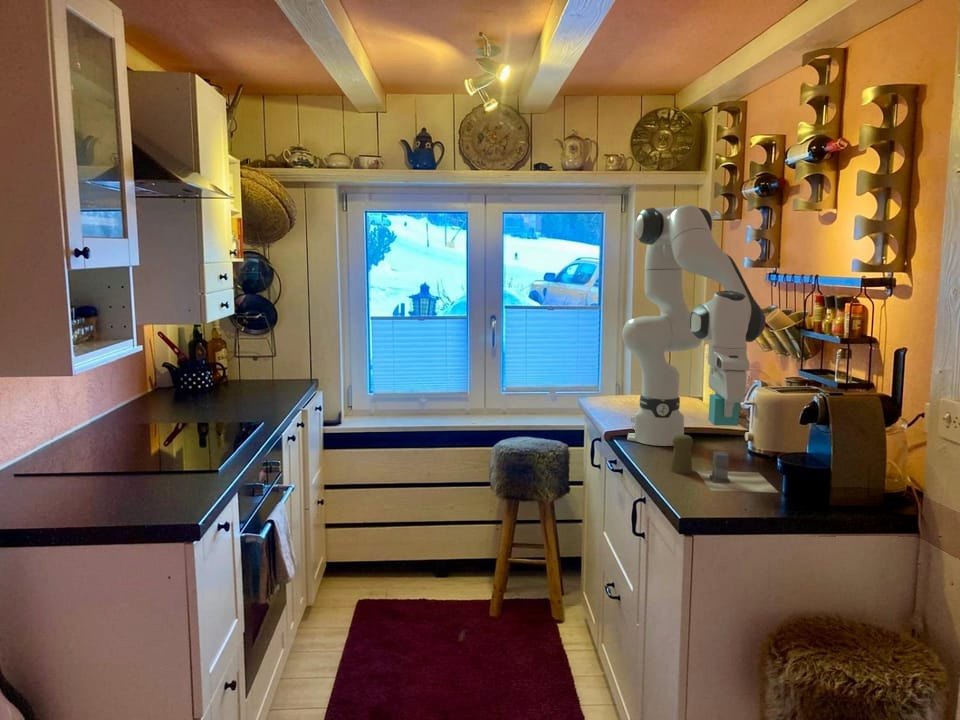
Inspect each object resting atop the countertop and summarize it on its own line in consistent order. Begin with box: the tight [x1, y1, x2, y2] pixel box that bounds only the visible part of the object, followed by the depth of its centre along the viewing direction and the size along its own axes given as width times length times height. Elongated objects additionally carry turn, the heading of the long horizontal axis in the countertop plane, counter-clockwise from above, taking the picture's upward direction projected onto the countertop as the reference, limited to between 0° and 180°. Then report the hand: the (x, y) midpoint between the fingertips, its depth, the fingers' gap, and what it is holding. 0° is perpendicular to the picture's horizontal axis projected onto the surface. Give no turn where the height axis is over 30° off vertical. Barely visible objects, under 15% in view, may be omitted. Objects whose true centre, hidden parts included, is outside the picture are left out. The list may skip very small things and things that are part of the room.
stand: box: [696, 451, 779, 494], centre depth 183 cm, size 16×16×8 cm
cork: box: [669, 434, 694, 475], centre depth 191 cm, size 6×6×11 cm
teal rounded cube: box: [708, 393, 741, 427], centre depth 181 cm, size 6×6×7 cm
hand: (723, 413), depth 181 cm, fingers closed on teal rounded cube, 6 cm apart
